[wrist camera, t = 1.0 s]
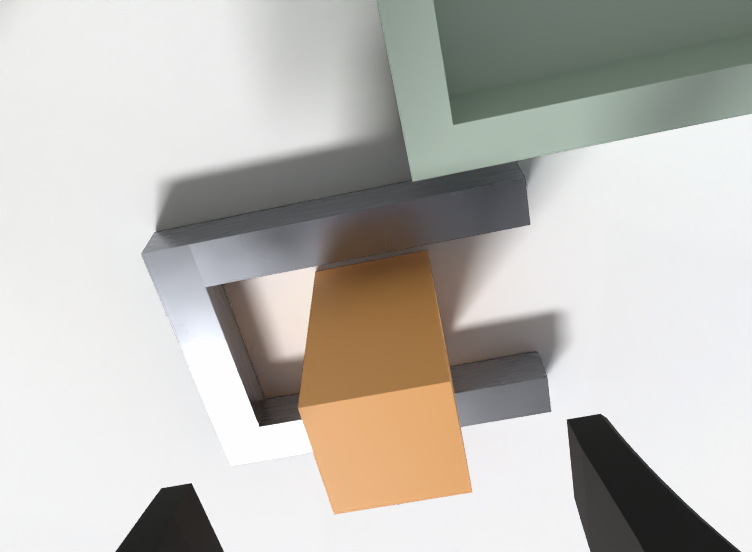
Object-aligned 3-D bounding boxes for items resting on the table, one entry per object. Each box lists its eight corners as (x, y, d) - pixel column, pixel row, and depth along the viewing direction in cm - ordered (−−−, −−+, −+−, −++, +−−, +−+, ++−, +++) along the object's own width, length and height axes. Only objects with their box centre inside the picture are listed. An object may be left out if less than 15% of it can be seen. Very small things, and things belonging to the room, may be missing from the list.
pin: (427, 250, 18) (450, 382, 13) (445, 343, 19) (472, 492, 15) (315, 271, 18) (297, 408, 13) (341, 362, 20) (334, 514, 15)
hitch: (515, 159, 17) (525, 177, 16) (541, 384, 20) (551, 411, 19) (154, 232, 18) (140, 253, 17) (237, 436, 21) (230, 465, 20)
